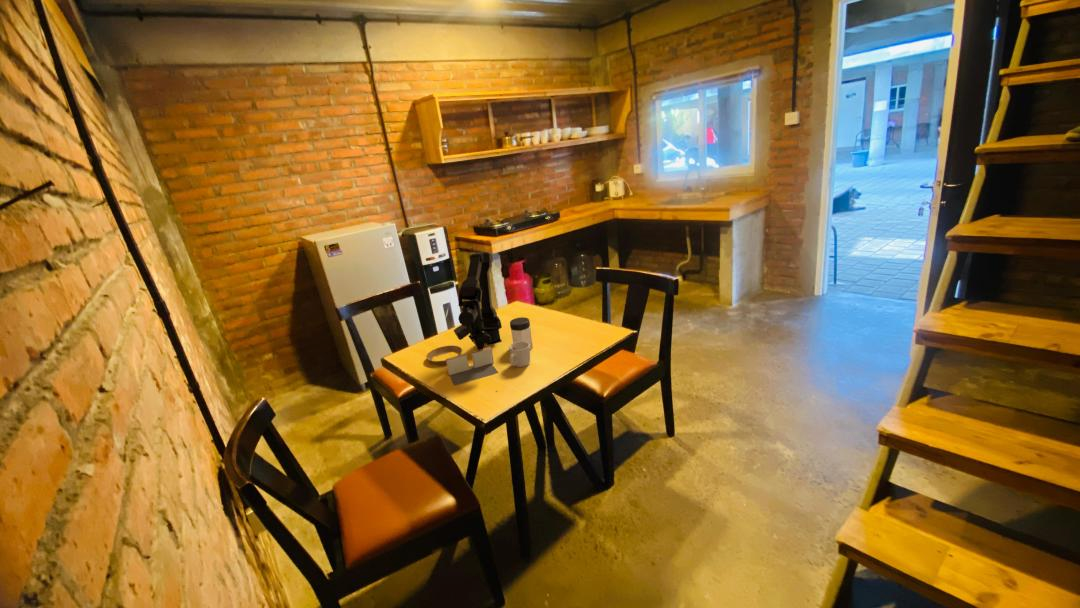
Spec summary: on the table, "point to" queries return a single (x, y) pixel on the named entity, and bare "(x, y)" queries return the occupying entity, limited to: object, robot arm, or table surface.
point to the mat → (473, 374)
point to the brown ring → (443, 352)
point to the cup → (520, 354)
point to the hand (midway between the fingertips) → (480, 353)
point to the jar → (521, 330)
